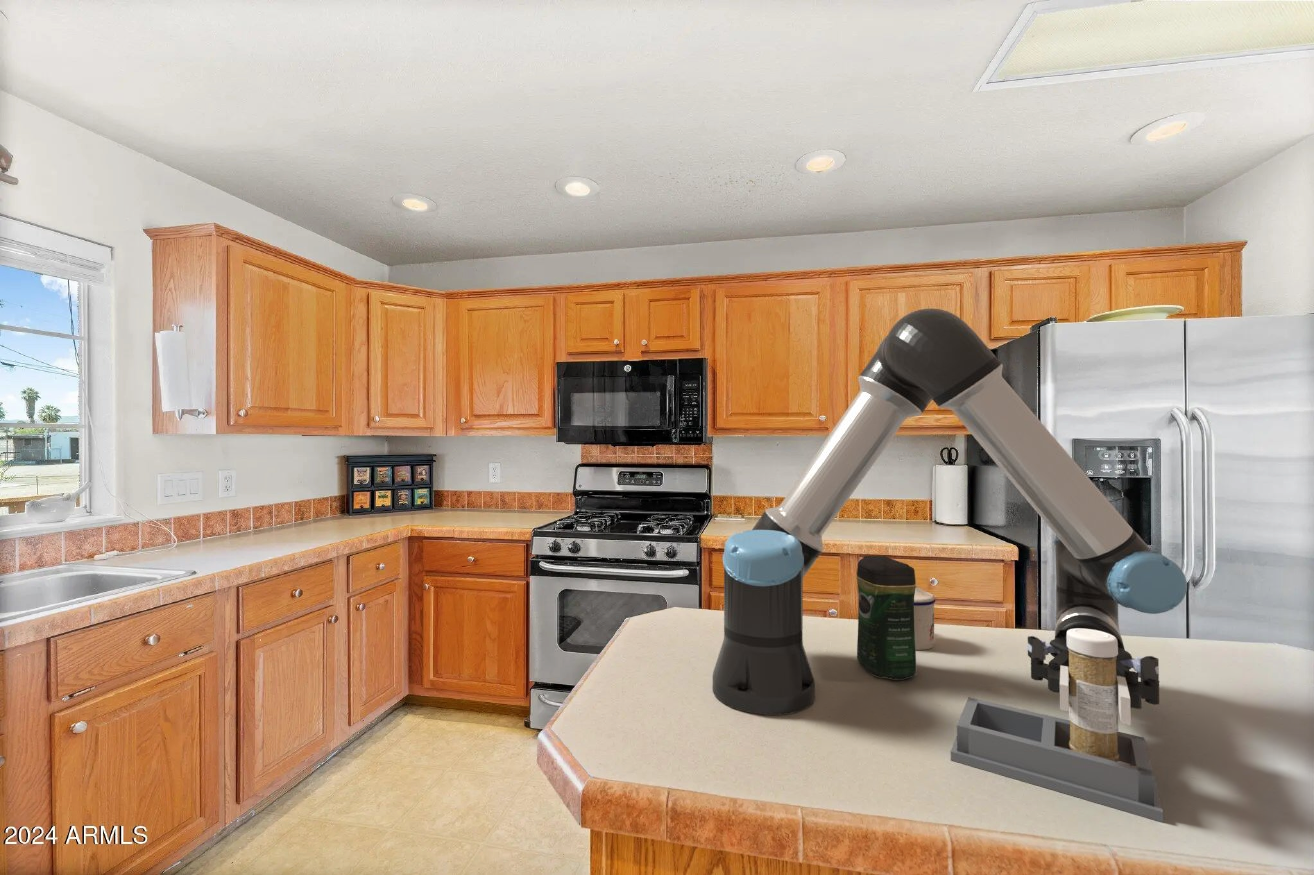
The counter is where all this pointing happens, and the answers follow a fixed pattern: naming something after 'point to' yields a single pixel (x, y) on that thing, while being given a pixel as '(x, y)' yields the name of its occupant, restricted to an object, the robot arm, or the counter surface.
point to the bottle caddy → (1055, 757)
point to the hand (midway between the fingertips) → (1094, 703)
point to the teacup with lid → (923, 619)
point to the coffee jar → (886, 617)
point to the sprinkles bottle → (1093, 693)
